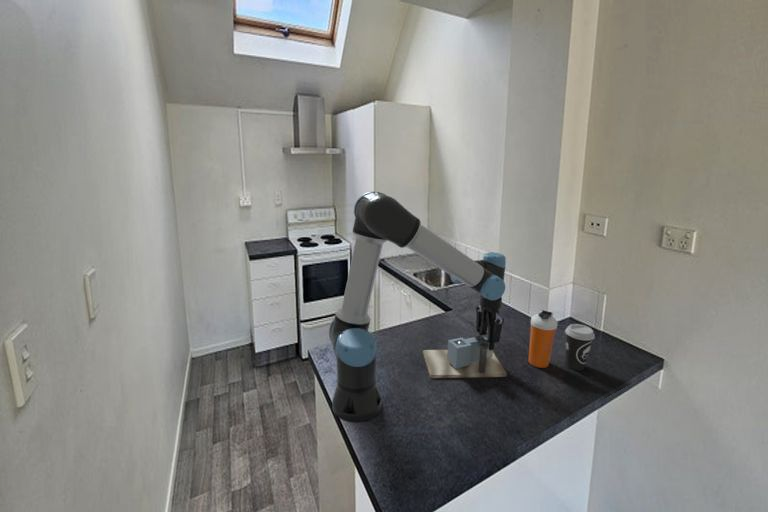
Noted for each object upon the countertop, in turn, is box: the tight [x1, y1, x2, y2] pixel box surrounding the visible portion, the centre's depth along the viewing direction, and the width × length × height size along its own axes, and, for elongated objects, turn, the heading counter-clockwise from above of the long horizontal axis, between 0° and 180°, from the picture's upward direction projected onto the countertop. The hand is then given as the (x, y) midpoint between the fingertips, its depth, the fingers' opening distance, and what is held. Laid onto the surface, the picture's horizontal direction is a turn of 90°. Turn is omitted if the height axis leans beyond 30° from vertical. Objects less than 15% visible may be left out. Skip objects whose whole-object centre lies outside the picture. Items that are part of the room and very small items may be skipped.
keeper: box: [474, 335, 489, 373], centre depth 132 cm, size 3×7×12 cm, turn 3°
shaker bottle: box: [528, 309, 558, 369], centre depth 137 cm, size 9×9×20 cm
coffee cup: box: [564, 323, 596, 371], centre depth 136 cm, size 10×10×15 cm
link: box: [447, 334, 493, 368], centre depth 136 cm, size 17×6×8 cm, turn 112°
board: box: [422, 349, 508, 379], centre depth 138 cm, size 27×17×1 cm, turn 93°
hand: (485, 354), depth 139 cm, fingers closed on link, 3 cm apart
